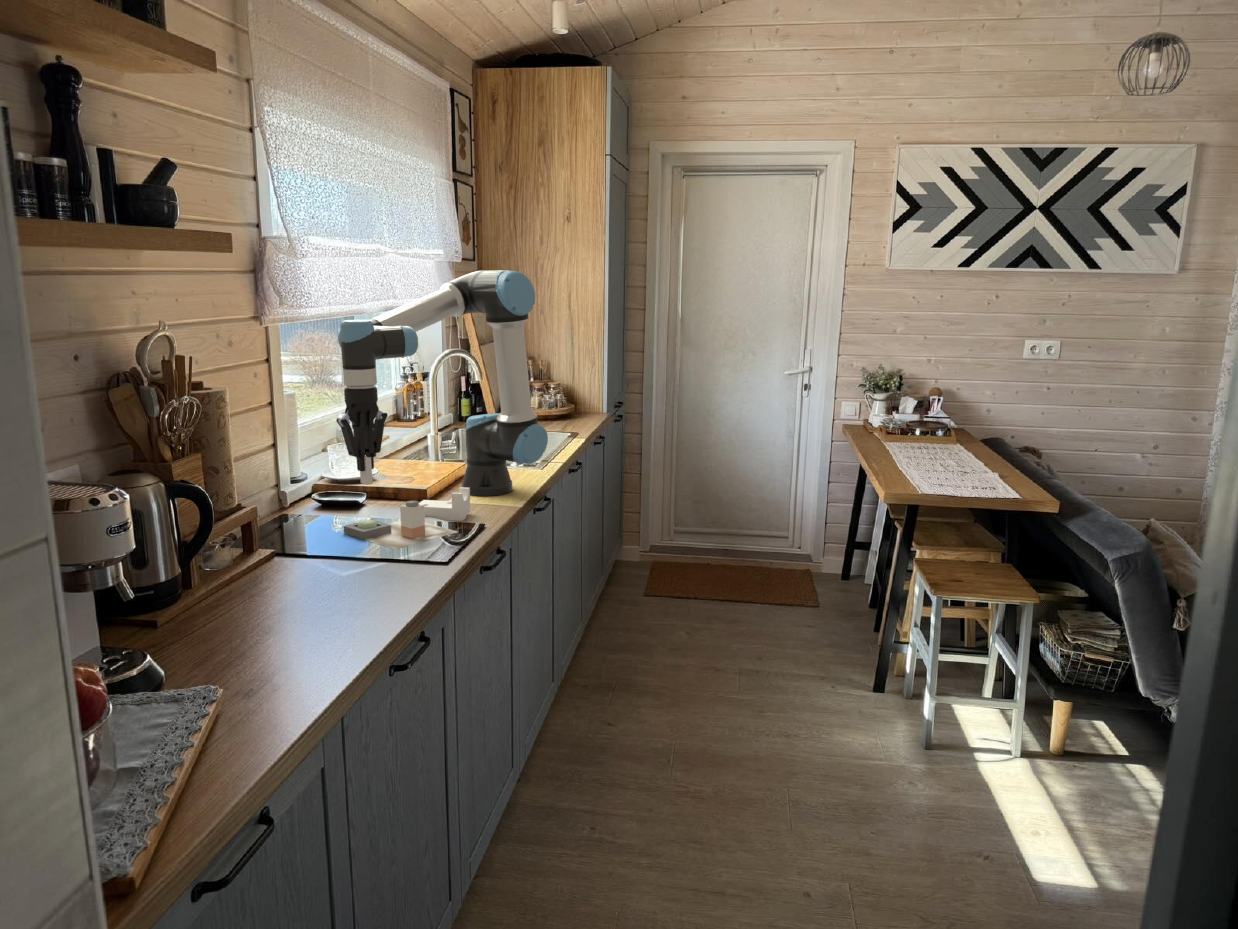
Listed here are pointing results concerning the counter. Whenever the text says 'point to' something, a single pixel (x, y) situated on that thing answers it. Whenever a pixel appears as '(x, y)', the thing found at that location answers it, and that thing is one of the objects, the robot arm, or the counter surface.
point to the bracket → (449, 506)
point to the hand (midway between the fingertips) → (366, 483)
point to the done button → (367, 524)
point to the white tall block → (412, 519)
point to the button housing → (367, 530)
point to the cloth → (398, 541)
